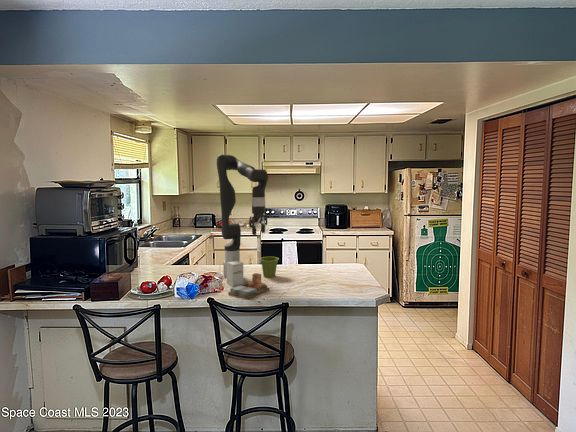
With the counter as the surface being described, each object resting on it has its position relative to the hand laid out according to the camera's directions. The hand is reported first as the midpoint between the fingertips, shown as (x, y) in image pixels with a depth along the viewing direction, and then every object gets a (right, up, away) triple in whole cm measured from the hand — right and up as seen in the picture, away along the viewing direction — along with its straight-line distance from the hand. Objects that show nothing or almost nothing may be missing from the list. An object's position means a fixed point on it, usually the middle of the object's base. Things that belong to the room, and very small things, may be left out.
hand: (258, 233), depth 226 cm
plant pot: (+5, -28, +24) cm, 37 cm away
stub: (-1, -29, -4) cm, 29 cm away
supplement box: (-14, -30, +7) cm, 34 cm away
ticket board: (-5, -31, -10) cm, 33 cm away
